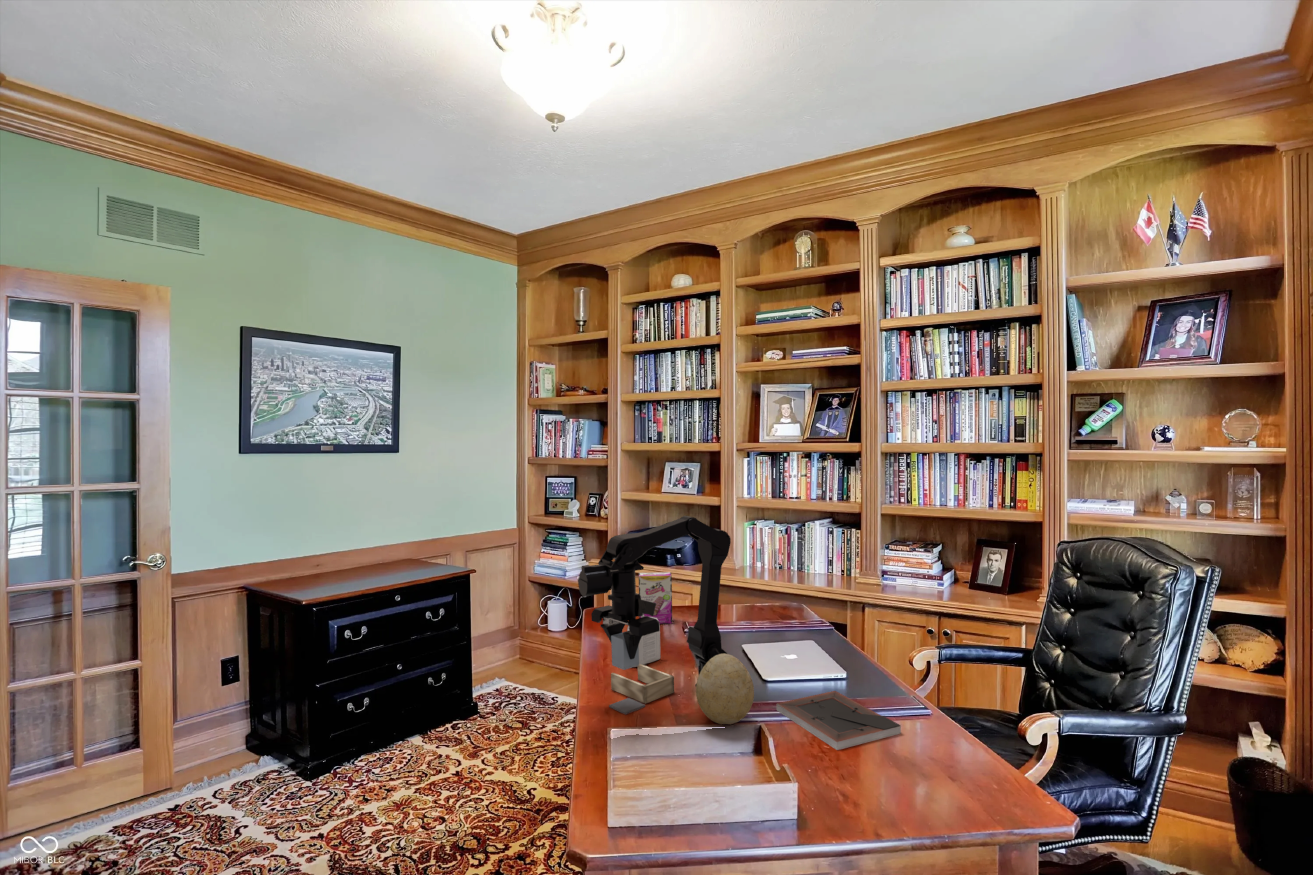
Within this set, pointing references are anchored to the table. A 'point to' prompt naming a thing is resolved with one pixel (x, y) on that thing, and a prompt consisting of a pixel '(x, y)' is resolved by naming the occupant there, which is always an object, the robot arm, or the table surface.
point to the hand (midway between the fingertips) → (625, 656)
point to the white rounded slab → (649, 647)
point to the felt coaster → (627, 706)
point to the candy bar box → (657, 594)
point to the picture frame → (838, 719)
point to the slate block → (622, 653)
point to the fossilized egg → (725, 689)
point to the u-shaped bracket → (655, 687)
